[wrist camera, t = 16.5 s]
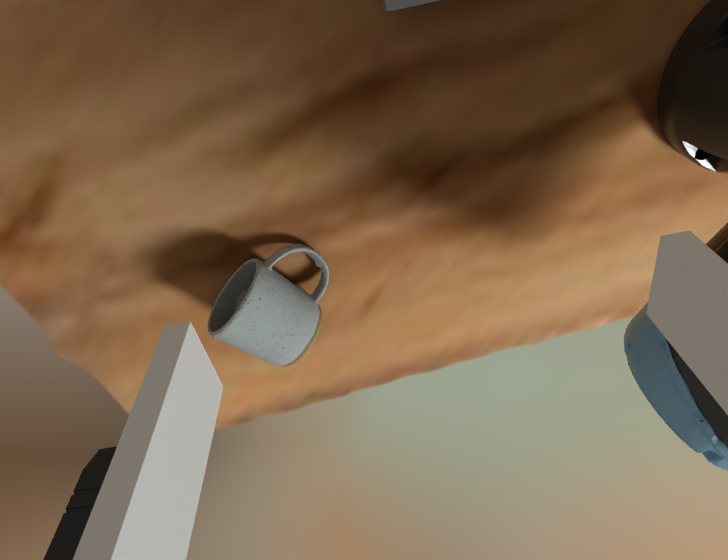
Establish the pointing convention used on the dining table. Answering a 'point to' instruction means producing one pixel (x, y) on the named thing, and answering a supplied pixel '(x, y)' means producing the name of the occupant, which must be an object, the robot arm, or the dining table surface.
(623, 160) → the dining table surface
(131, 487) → the robot arm
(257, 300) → the ceramic mug
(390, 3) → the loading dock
